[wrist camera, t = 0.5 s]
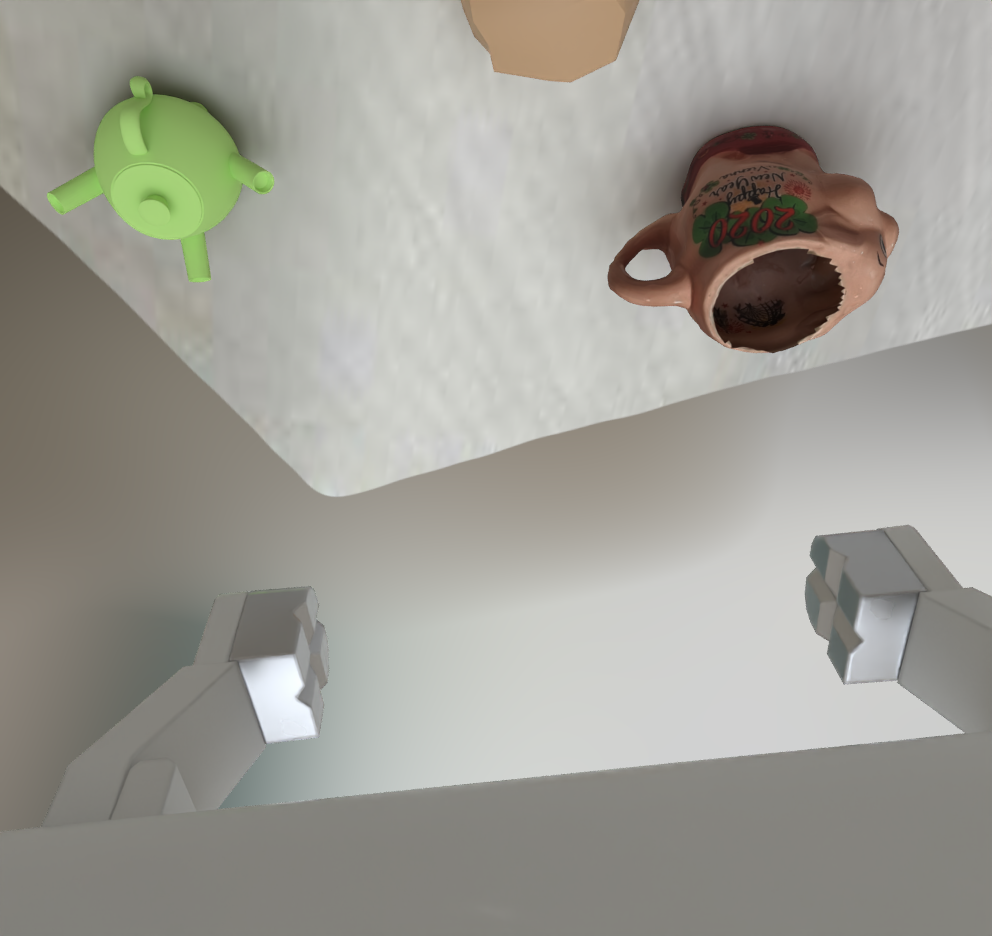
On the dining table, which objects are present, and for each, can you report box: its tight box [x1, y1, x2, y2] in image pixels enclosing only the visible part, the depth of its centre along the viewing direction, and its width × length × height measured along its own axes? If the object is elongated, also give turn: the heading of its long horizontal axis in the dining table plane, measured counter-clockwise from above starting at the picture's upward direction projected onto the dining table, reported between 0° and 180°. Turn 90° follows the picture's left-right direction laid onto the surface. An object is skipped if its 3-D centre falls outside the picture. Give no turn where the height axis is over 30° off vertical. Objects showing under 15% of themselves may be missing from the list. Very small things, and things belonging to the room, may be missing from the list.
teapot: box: [47, 76, 274, 282], centre depth 58 cm, size 11×12×8 cm
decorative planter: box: [608, 126, 899, 353], centre depth 61 cm, size 20×12×14 cm, turn 104°
